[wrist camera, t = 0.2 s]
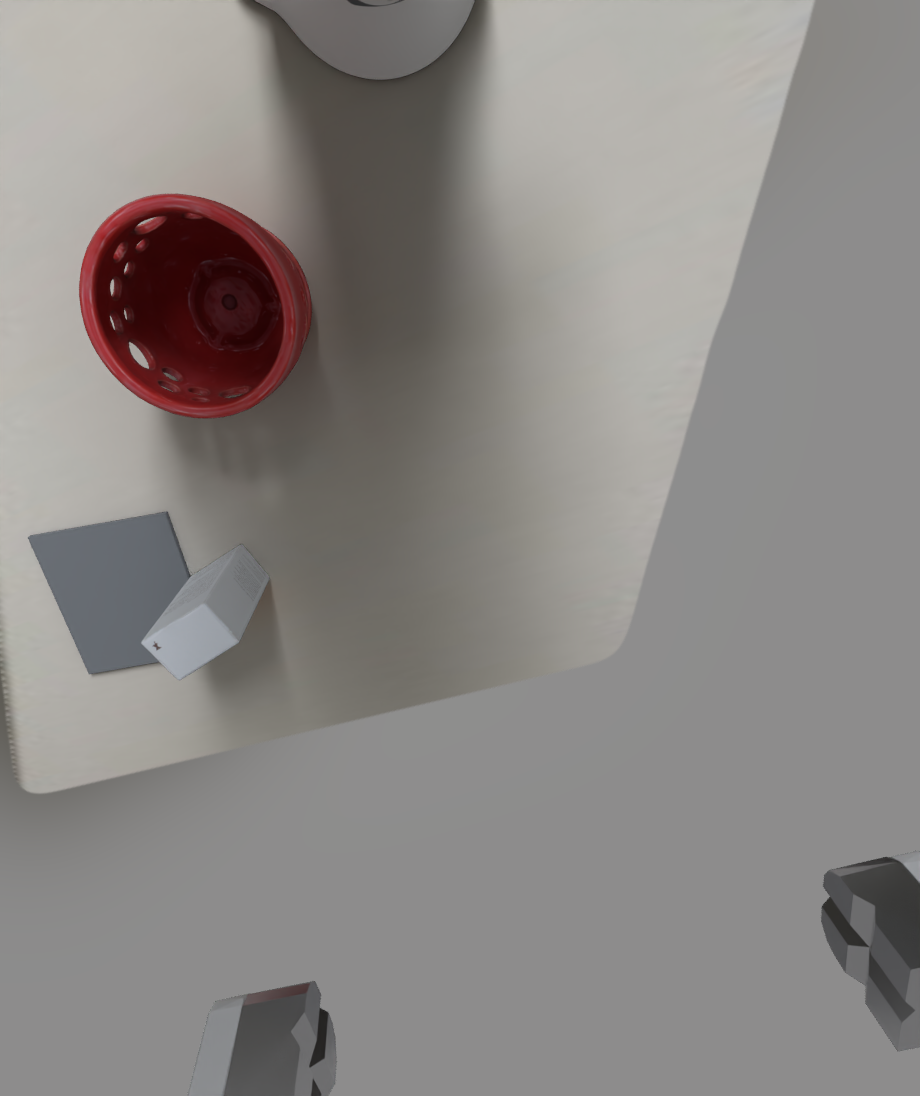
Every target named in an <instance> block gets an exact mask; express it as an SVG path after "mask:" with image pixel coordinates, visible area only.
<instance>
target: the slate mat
mask: <svg viewBox="0 0 920 1096" xmlns="http://www.w3.org/2000/svg"><path fill="white" fill-rule="evenodd" d="M28 539H29V541H30V544H31V546H32V548H33V550H34V553H35V555H36V557H37V559H38V561H39V564H40V566H41V568H42V570H43V573H44V575H45V577H46V579H47V582H48V584H49V586H50V588H51V590H52V593H53V595H54V597H55V599H56V602H57V604H58V606H59V608H60V611H61V613H62V615H63V617H64V619H65V622H66V624H67V626H68V628H69V631H70V633H71V635H72V637H73V639H74V642H75V644H76V646H77V648H78V651H79V653H80V655H81V657H82V660H83V662H84V664H85V666H86V668H87V671H88V673H89V674H93V673H98V672H104V671H110V670H116V669H121V668H127V667H133V666H138V665H144V664H150V663H156V662H159V661H158V660H157V659H156V658H155V657H154V656H153V655H152V654H151V653H150V652H149V651H148V650H147V649H146V648H145V647H144V646H143V645H142V644H141V642H142V640H143V639H144V637H145V636H146V634H147V633H148V632H149V630H150V629H151V628H152V627H153V626H154V624H155V623H156V622H157V620H158V619H159V618H160V616H161V615H162V614H163V612H164V611H165V610H166V608H167V607H168V606H169V604H170V603H171V602H172V600H173V599H174V598H175V596H176V595H177V594H178V592H179V591H180V590H181V588H182V587H183V586H184V585H185V583H186V582H187V581H188V579H189V578H190V574H189V571H188V568H187V566H186V563H185V560H184V557H183V554H182V551H181V549H180V546H179V543H178V540H177V537H176V534H175V532H174V529H173V526H172V523H171V520H170V517H169V515H168V512H162V513H156V514H151V515H145V516H139V517H134V518H128V519H122V520H116V521H111V522H105V523H99V524H93V525H88V526H82V527H76V528H71V529H65V530H59V531H53V532H48V533H42V534H36V535H31V536H29V537H28Z"/></svg>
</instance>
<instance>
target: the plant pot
mask: <svg viewBox="0 0 920 1096" xmlns="http://www.w3.org/2000/svg"><path fill="white" fill-rule="evenodd" d="M154 217H156V218H154ZM150 218H154V219H153V220H151V221H149V222H147V223H145V224H141V225H139V226H137V225H138V224H139V223H141V222H142V221H144V220H147V219H150ZM141 240H142V241H141ZM140 241H141V242H140ZM139 242H140V243H139ZM138 243H139V244H138ZM137 244H138V245H137ZM127 263H128V267H127V270H126V272H125V273H124V269H125V266H126V264H127ZM112 279H113V280H114V292H113V295H112V296H111V292H110V283H111V281H112ZM79 297H80V306H81V313H82V317H83V321H84V325H85V328H86V331H87V334H88V336H89V338H90V340H91V343H92V345H93V347H94V349H95V350H96V352H97V354H98V355H99V357H100V358H101V360H102V361H103V363H104V364H105V365H106V367H107V368H108V369H109V371H110V372H111V373H112V374H113V375H114V376H115V377H116V378H117V379H118V380H119V381H120V382H121V383H122V384H123V385H124V386H125V387H126V388H127V389H129V390H130V391H131V392H132V393H134V394H135V395H136V396H138V397H139V398H141V399H143V400H144V401H146V402H148V403H149V404H152V405H154V406H156V407H158V408H160V409H163V410H165V411H168V412H170V413H173V414H177V415H181V416H185V417H192V418H220V417H226V416H230V415H234V414H237V413H240V412H243V411H245V410H247V409H249V408H251V407H253V406H255V405H256V404H258V403H260V402H261V401H262V400H264V399H265V398H266V397H268V396H269V395H270V394H271V393H273V392H274V391H275V390H276V389H277V388H278V387H279V386H280V385H281V384H282V383H283V381H284V380H285V379H286V378H287V376H288V375H289V373H290V372H291V370H292V369H293V367H294V366H295V364H296V362H297V361H298V358H299V356H300V354H301V351H302V348H303V345H304V343H305V341H306V339H307V336H308V333H309V329H310V324H311V315H312V305H311V296H310V291H309V287H308V284H307V281H306V278H305V275H304V273H303V271H302V269H301V267H300V265H299V263H298V262H297V260H296V258H295V257H294V256H293V254H292V253H291V252H290V250H289V249H288V248H287V247H286V246H285V244H284V243H283V242H282V241H281V240H279V239H278V238H277V237H276V236H275V235H273V234H272V233H271V232H269V231H268V230H266V229H265V228H263V227H261V226H260V225H259V224H257V223H256V222H254V221H253V220H252V219H250V218H248V217H247V216H245V215H243V214H242V213H240V212H238V211H236V210H234V209H232V208H230V207H228V206H226V205H223V204H221V203H218V202H215V201H212V200H209V199H205V198H201V197H196V196H190V195H183V194H159V195H152V196H148V197H144V198H140V199H138V200H135V201H133V202H130V203H128V204H126V205H124V206H123V207H121V208H120V209H118V210H116V211H115V212H114V213H113V214H112V215H110V216H109V217H108V218H107V219H106V220H105V221H104V222H103V223H102V224H101V226H100V227H99V228H98V230H97V231H96V233H95V234H94V236H93V237H92V239H91V241H90V243H89V245H88V247H87V250H86V253H85V256H84V259H83V263H82V267H81V274H80V283H79ZM124 309H125V311H126V314H127V320H126V318H125V315H124ZM110 316H111V318H112V320H113V322H114V326H115V330H114V328H113V326H112V323H111V321H110ZM129 342H131V343H133V344H134V345H135V346H136V347H137V348H138V349H139V350H140V351H141V352H142V353H143V355H144V357H145V358H146V360H147V362H148V366H149V369H147V368H144V367H142V366H141V365H140V364H139V363H138V362H137V361H136V360H135V359H134V358H133V356H132V354H131V352H130V349H129ZM163 372H164V373H168V374H170V375H172V376H174V377H175V378H176V379H177V380H178V381H175V380H172V379H170V378H169V377H167V376H166V375H165V374H164V373H163ZM161 386H163V387H166V388H168V389H170V390H171V391H169V390H167V389H165V388H163V387H161ZM172 391H173V392H172ZM199 394H200V395H199ZM239 394H243V395H240V396H237V397H231V398H225V397H228V396H232V395H239Z"/></svg>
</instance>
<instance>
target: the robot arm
mask: <svg viewBox="0 0 920 1096" xmlns="http://www.w3.org/2000/svg"><path fill="white" fill-rule="evenodd" d="M255 1H257V2H258V3H260V4H262V5H264V6H266V7H267V8H269V9H271V10H273V11H275V12H276V13H277V14H279V15H280V16H281V17H282V18H283V19H284V20H285V22H286V23H287V24H288V25H289V26H290V28H291V29H292V30H293V31H294V32H295V34H296V35H297V36H298V37H299V39H300V40H301V41H302V42H303V43H304V44H305V45H306V46H307V47H308V48H309V49H310V50H311V51H312V52H313V53H314V54H316V55H317V56H318V57H319V58H321V59H322V60H323V61H325V62H326V63H328V64H329V65H331V66H333V67H335V68H336V69H338V70H340V71H343V72H345V73H348V74H350V75H353V76H357V77H361V78H366V79H377V80H383V79H394V78H399V77H403V76H406V75H409V74H412V73H414V72H417V71H419V70H421V69H422V68H424V67H426V66H427V65H429V64H430V63H432V62H433V61H435V60H436V59H437V58H438V57H439V56H440V55H442V54H443V53H444V52H445V51H446V50H447V49H448V47H449V46H450V45H451V44H452V43H453V41H454V40H455V39H456V37H457V36H458V34H459V33H460V31H461V30H462V28H463V26H464V24H465V23H466V21H467V19H468V16H469V14H470V12H471V10H472V7H473V4H474V1H475V0H255ZM823 887H824V889H825V890H826V891H827V893H828V894H829V896H830V897H829V898H828V899H827V901H826V902H825V903H824V904H823V906H822V916H821V922H822V925H823V929H824V932H825V936H826V939H827V941H828V943H829V946H830V948H831V950H832V952H833V954H834V955H835V957H836V959H837V960H838V962H839V964H840V965H841V967H842V968H843V970H844V971H845V973H847V974H848V975H850V976H851V977H853V978H854V979H856V980H857V981H859V982H860V983H862V984H864V985H865V1002H866V1005H867V1006H868V1008H869V1009H870V1011H871V1012H872V1014H873V1015H874V1017H875V1018H876V1020H877V1021H878V1023H879V1024H880V1026H881V1027H882V1029H883V1030H884V1032H885V1033H886V1035H887V1036H888V1038H889V1039H890V1041H891V1042H892V1044H893V1045H894V1047H895V1048H896V1050H897V1051H902V1050H907V1049H913V1048H918V1047H920V851H914V852H910V853H905V854H901V855H897V856H893V857H883V858H879V859H875V860H870V861H866V862H862V863H857V864H853V865H849V866H845V867H841V868H836V869H832V870H829V871H828V872H827V873H826V874H825V875H824V884H823ZM320 1000H321V993H320V991H319V989H318V987H317V984H316V982H315V981H312V982H307V983H302V984H297V985H292V986H287V987H282V988H277V989H272V990H267V991H262V992H257V993H252V994H245V995H240V996H235V997H231V998H226V999H222V1000H217V1001H215V1003H214V1005H213V1006H212V1009H211V1010H210V1012H209V1014H208V1017H207V1021H206V1025H205V1029H204V1032H203V1037H202V1041H201V1044H200V1048H199V1052H198V1056H197V1060H196V1064H195V1068H194V1072H193V1076H192V1080H191V1084H190V1088H189V1092H188V1096H328V1095H329V1093H330V1092H331V1090H332V1088H333V1086H334V1085H335V1078H336V1041H335V1034H334V1029H333V1023H332V1021H331V1018H330V1015H329V1013H328V1012H327V1011H325V1010H323V1009H321V1008H320Z"/></svg>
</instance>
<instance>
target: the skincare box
mask: <svg viewBox="0 0 920 1096" xmlns="http://www.w3.org/2000/svg"><path fill="white" fill-rule="evenodd" d="M269 579H270V577H269V575H268V574H267V573H266V572H265V571H264V570H263V568H262V567H261V566H260V565H259V564H258V562H257V561H256V560H255V559H254V558H253V556H252V555H251V554H250V553H249V552H248V550H247V549H246V548H245V547H244V546H243V545H242V544H240V545H239V546H237V547H236V548H234V549H232V550H231V551H229V552H228V553H226V554H225V555H223V556H222V557H220V558H219V559H217V560H215V561H214V562H212V563H211V564H209V565H208V566H206V567H205V568H203V569H202V570H200V571H199V572H197V573H196V574H194V575H192V576H191V577H190V578H189V579H188V581H187V582H186V583H185V585H184V586H183V587H182V588H181V590H180V591H179V592H178V594H177V595H176V596H175V598H174V599H173V600H172V602H171V603H170V604H169V606H168V607H167V608H166V610H165V611H164V612H163V614H162V615H161V616H160V618H159V619H158V620H157V622H156V623H155V624H154V626H153V627H152V628H151V629H150V630H149V632H148V633H147V634H146V636H145V637H144V639H143V640H142V642H141V644H142V645H143V646H144V647H145V648H146V649H147V650H148V651H149V652H150V653H151V654H152V655H153V656H154V657H155V658H156V659H157V660H158V661H159V662H160V663H161V664H162V665H163V666H164V667H165V668H166V669H167V670H168V671H169V672H170V673H171V674H172V675H173V676H174V677H175V678H176V679H177V680H181V679H183V678H184V677H186V676H188V675H189V674H191V673H193V672H194V671H196V670H197V669H199V668H201V667H202V666H204V665H205V664H207V663H208V662H210V661H211V660H213V659H214V658H216V657H217V656H219V655H220V654H222V653H224V652H225V651H227V650H228V649H230V648H231V647H233V646H235V645H236V644H238V643H239V642H240V640H241V638H242V636H243V634H244V631H245V629H246V627H247V625H248V623H249V621H250V619H251V617H252V615H253V613H254V611H255V609H256V607H257V604H258V602H259V600H260V598H261V596H262V594H263V592H264V590H265V588H266V585H267V583H268V581H269Z"/></svg>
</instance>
